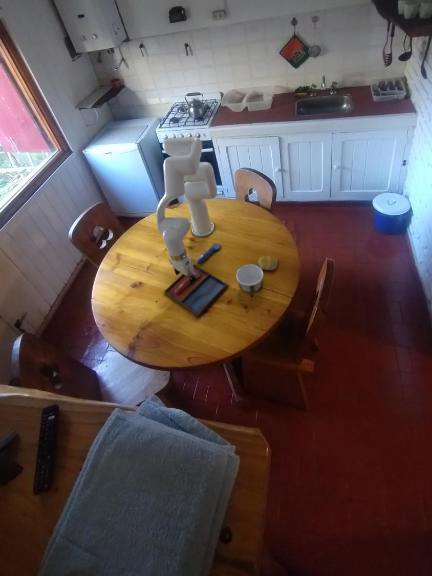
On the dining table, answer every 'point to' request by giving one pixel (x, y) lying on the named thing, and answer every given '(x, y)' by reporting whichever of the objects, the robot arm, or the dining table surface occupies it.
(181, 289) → the red spoon
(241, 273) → the food container
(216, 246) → the blue spoon
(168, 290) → the sorting tray
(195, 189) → the robot arm
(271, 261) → the bread roll
